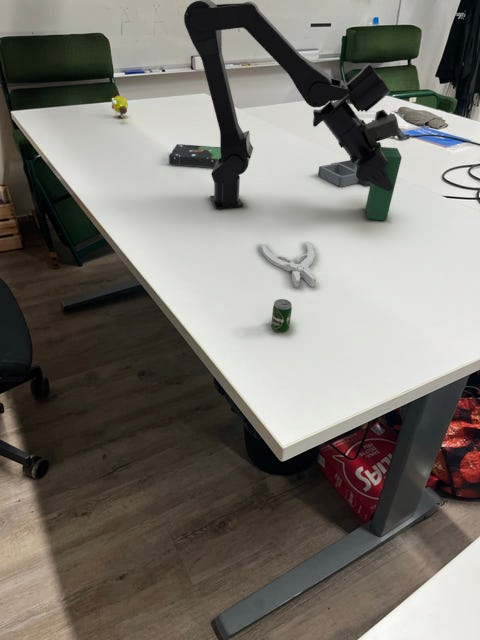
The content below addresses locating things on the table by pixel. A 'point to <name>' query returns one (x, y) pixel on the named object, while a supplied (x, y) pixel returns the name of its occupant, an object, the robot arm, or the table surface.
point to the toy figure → (119, 105)
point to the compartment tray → (343, 169)
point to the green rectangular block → (380, 197)
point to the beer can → (281, 315)
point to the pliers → (294, 265)
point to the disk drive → (194, 155)
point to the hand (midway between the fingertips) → (388, 184)
